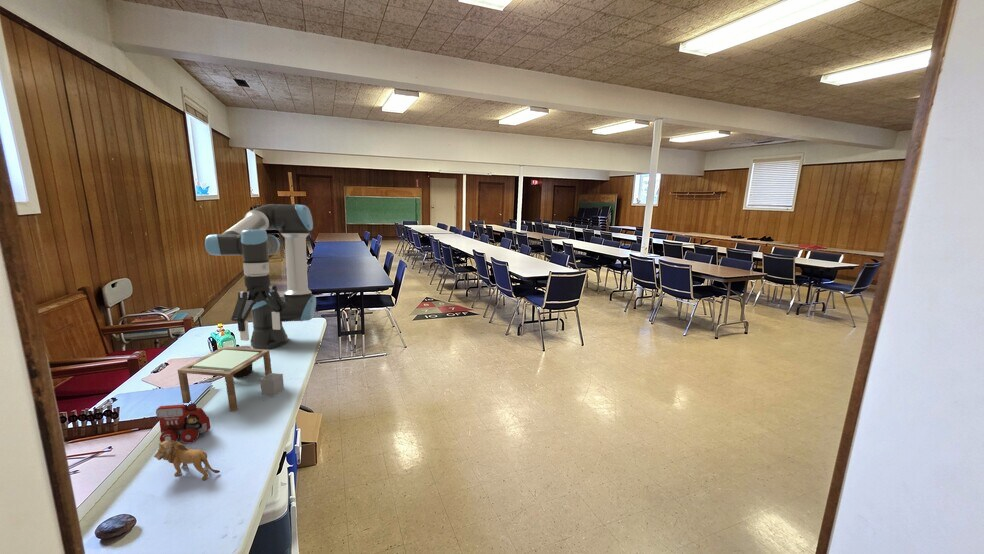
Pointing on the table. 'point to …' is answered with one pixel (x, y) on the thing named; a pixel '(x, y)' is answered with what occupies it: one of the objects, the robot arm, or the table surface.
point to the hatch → (225, 360)
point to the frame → (222, 373)
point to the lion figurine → (183, 457)
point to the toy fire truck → (182, 422)
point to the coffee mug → (246, 370)
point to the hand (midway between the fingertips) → (261, 334)
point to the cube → (272, 384)
